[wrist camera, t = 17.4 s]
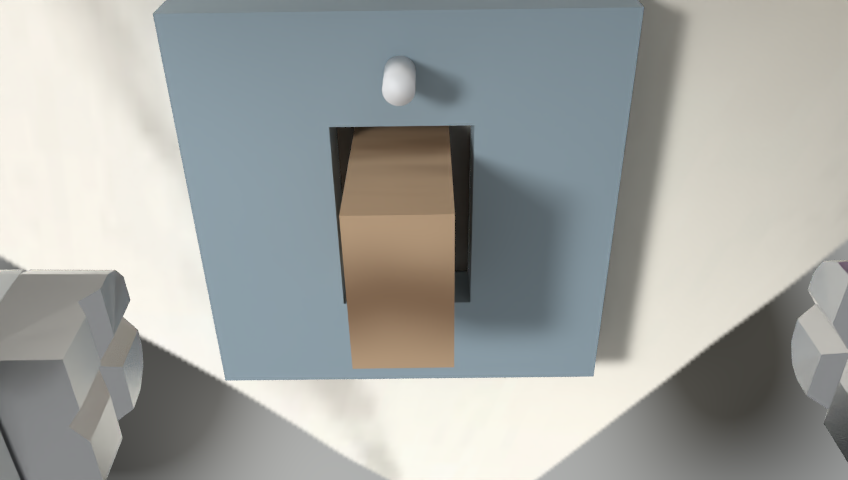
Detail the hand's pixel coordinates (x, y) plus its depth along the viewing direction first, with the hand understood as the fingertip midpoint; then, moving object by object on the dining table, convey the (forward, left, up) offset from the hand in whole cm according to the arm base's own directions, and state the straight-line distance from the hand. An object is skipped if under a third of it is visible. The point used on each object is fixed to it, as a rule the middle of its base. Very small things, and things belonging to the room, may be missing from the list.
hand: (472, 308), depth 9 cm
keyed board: (-1, -12, -24) cm, 27 cm away
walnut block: (-2, -12, -24) cm, 27 cm away
